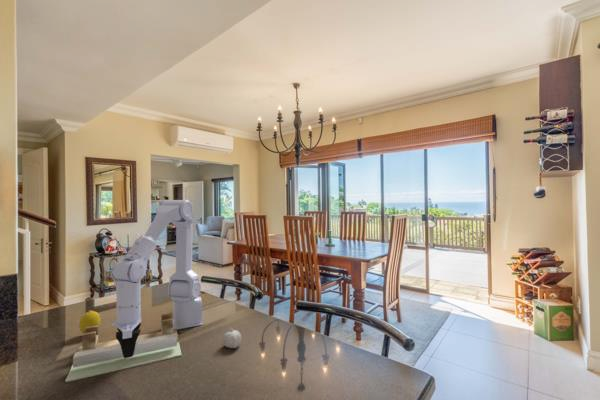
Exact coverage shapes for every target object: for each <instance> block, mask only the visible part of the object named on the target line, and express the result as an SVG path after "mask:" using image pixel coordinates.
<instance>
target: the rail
mask: <svg viewBox="0 0 600 400" xmlns="http://www.w3.org/2000/svg"><path fill="white" fill-rule="evenodd" d="M177 342H178V339H177V335H176V333H175V334H170V335H164V336H159V337H154V338H149V339H143V340H138V341H136V344H135V350H134V354H133V355H136V354H141V353H146V352H151V351H155V350H160V349H165V348H170V347H174V346H177ZM122 357H123V353H122V349H121V345H120V344H117V345H112V346H107V347H101V348H96V349H91V350H86V351H80V352H78V351H76V352H75V353H74V354H73V357H72V365H73V368H74V367H79V366H84V365H88V364H93V363H98V362H103V361H107V360H112V359H117V358H122Z"/></svg>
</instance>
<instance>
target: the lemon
mask: <svg viewBox="0 0 600 400" xmlns="http://www.w3.org/2000/svg"><path fill="white" fill-rule="evenodd" d="M96 325H98V329H100V326H101V316H100V314H99V313H98V312H97V311H95V310H92V309H91V310H88V311H87V312H85V313H84V314H83V315H82V316H81V317H80V320H79V325H78V327H79V330H80V332H82V334H83V333H85V328H86V327H90V326H96Z"/></svg>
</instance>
